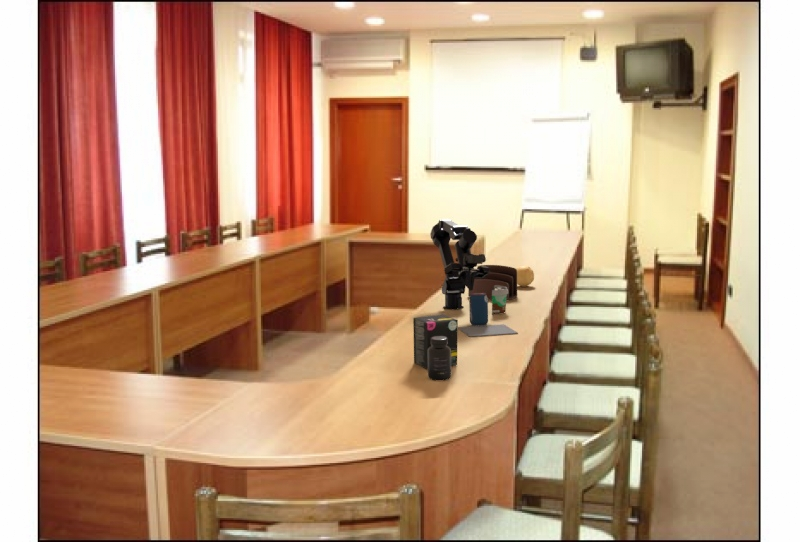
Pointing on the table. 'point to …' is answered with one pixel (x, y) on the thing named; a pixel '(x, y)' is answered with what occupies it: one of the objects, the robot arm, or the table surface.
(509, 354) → the table surface
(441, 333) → the tampon box
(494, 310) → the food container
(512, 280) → the letter holder
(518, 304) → the table surface
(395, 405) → the table surface
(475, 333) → the mat
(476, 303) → the soda can
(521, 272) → the stress ball
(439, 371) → the supplement bottle
